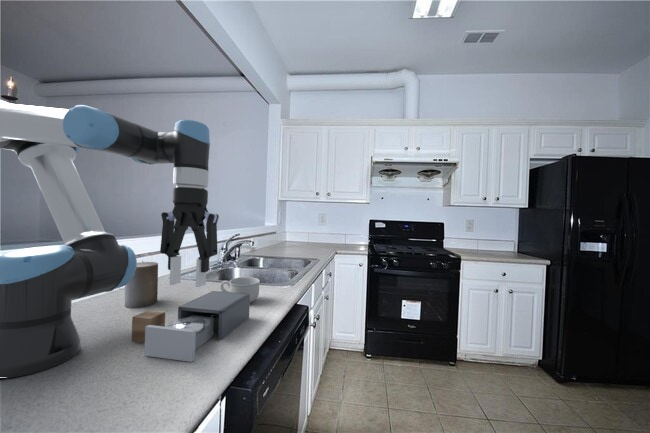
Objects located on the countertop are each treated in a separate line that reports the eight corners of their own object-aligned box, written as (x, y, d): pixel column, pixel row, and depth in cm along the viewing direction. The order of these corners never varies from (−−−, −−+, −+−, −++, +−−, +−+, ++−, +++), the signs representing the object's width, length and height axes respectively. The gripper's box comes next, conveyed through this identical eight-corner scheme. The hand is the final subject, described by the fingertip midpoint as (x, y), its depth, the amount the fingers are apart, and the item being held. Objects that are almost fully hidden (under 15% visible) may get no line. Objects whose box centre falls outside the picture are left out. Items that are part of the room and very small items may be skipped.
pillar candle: (162, 299, 102) (163, 258, 102) (149, 307, 92) (150, 262, 92) (133, 299, 100) (134, 258, 100) (117, 308, 91) (118, 262, 91)
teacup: (263, 298, 107) (263, 277, 107) (253, 307, 96) (253, 284, 96) (228, 296, 108) (228, 275, 108) (214, 305, 98) (215, 282, 98)
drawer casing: (221, 340, 70) (222, 310, 70) (177, 335, 72) (178, 306, 72) (249, 318, 86) (249, 293, 86) (212, 314, 88) (213, 290, 88)
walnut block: (149, 343, 68) (150, 318, 68) (131, 341, 68) (132, 316, 68) (164, 334, 72) (165, 311, 72) (147, 332, 73) (148, 310, 73)
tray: (191, 361, 59) (192, 332, 59) (144, 355, 61) (145, 326, 61) (222, 337, 72) (223, 312, 72) (182, 332, 74) (183, 308, 74)
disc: (169, 340, 61) (169, 332, 61) (165, 327, 67) (165, 320, 67) (208, 332, 65) (208, 325, 65) (201, 321, 72) (201, 314, 72)
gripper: (235, 190, 68) (232, 284, 68) (167, 188, 72) (164, 278, 72) (219, 186, 61) (215, 292, 61) (143, 185, 64) (140, 285, 64)
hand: (187, 284), depth 66 cm, fingers open, 6 cm apart
